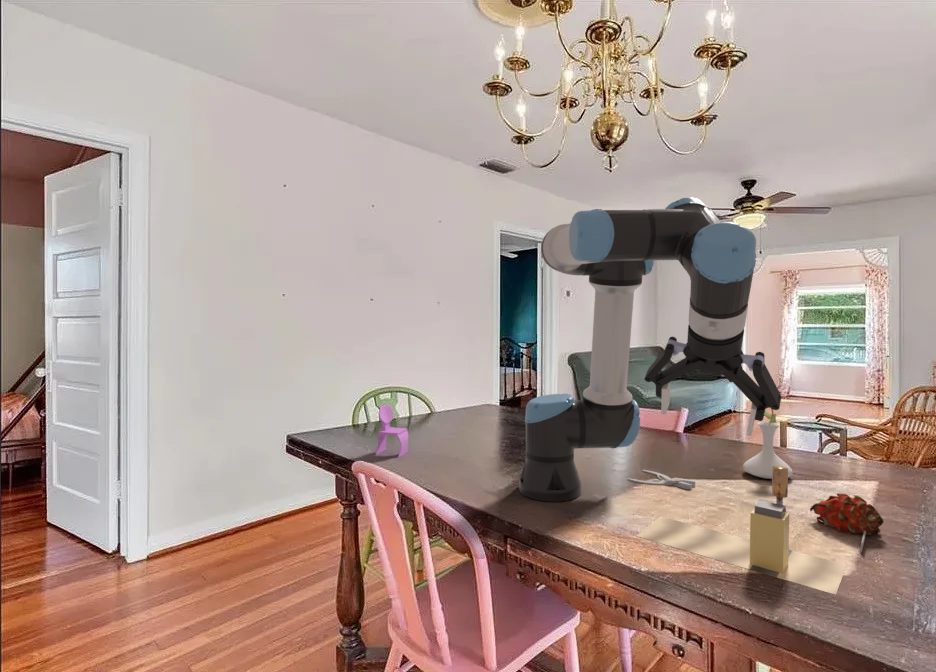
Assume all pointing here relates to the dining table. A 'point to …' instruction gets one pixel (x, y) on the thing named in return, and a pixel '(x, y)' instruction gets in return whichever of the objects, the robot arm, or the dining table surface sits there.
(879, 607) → the dining table surface
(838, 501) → the dragon fruit
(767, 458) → the flower in vase
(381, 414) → the toy chair
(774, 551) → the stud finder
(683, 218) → the robot arm
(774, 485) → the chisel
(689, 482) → the pliers
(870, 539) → the dining table surface
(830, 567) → the plank
